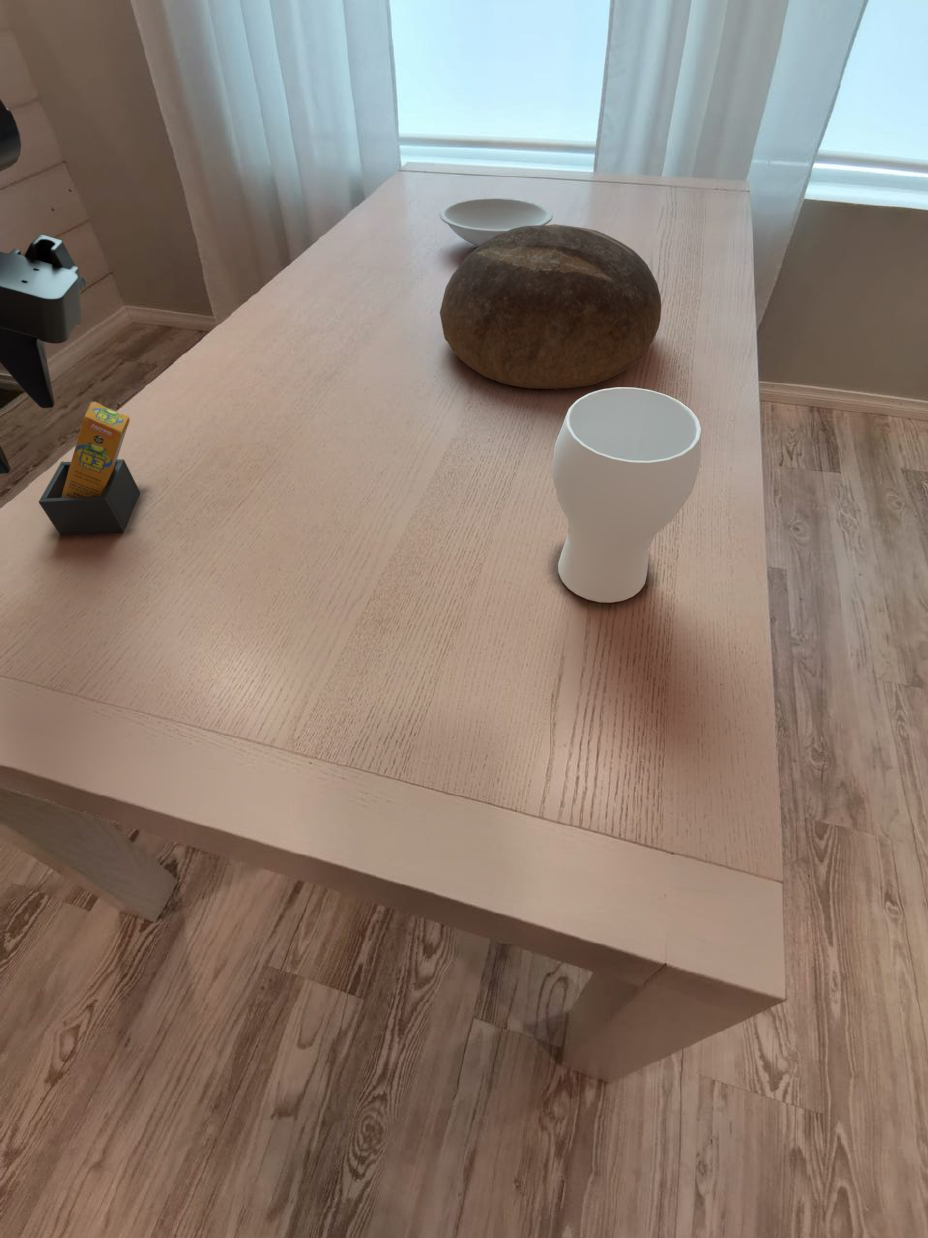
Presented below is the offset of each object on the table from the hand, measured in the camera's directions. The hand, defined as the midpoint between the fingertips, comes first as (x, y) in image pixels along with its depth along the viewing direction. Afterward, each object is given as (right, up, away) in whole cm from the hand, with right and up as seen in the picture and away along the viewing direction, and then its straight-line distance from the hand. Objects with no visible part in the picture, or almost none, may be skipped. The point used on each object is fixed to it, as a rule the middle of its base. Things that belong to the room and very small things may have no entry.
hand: (27, 437), depth 52 cm
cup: (+47, -10, +6) cm, 48 cm away
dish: (+40, +45, +53) cm, 80 cm away
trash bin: (-1, -4, +12) cm, 13 cm away
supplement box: (-2, -4, +10) cm, 11 cm away
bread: (+46, +21, +32) cm, 60 cm away
